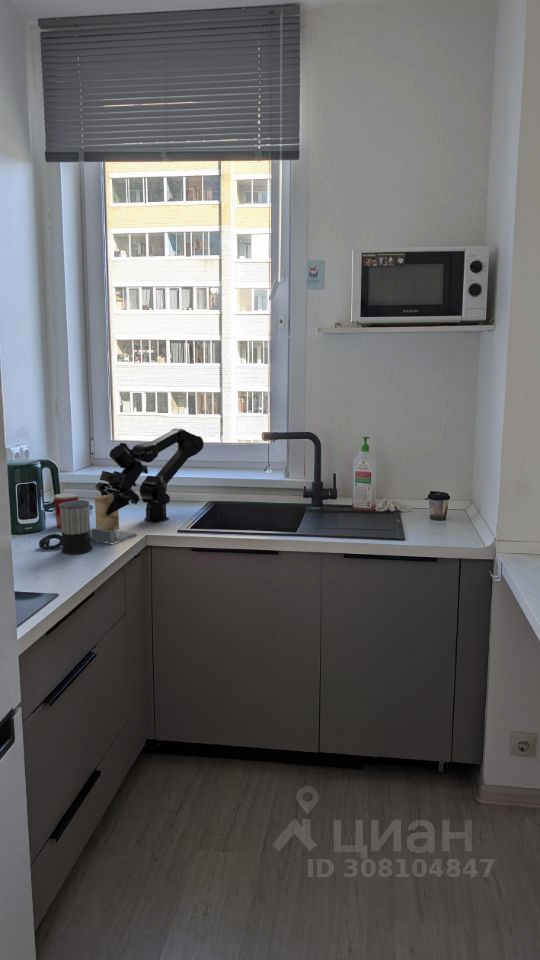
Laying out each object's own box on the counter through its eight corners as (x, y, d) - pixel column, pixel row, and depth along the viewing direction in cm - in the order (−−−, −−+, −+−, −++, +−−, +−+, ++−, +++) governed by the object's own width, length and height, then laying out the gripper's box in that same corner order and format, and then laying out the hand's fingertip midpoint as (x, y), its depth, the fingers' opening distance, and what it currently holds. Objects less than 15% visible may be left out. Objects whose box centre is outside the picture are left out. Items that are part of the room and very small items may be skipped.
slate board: (115, 532, 249) (114, 521, 248) (136, 536, 244) (135, 524, 243) (90, 541, 239) (90, 528, 238) (112, 544, 234) (112, 532, 234)
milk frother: (93, 553, 225) (90, 505, 222) (38, 558, 221) (35, 509, 218) (90, 541, 239) (88, 496, 236) (39, 545, 234) (35, 499, 232)
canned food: (74, 529, 255) (71, 497, 252) (52, 528, 256) (50, 497, 254) (83, 523, 262) (81, 493, 260) (62, 523, 263) (60, 492, 261)
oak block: (112, 528, 254) (110, 494, 251) (119, 531, 251) (117, 496, 248) (96, 532, 250) (94, 497, 247) (103, 534, 247) (101, 499, 244)
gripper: (98, 458, 255) (71, 495, 249) (130, 464, 242) (102, 503, 236) (119, 478, 262) (93, 514, 256) (150, 484, 249) (124, 523, 243)
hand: (102, 513), depth 248 cm, fingers closed on oak block, 5 cm apart
